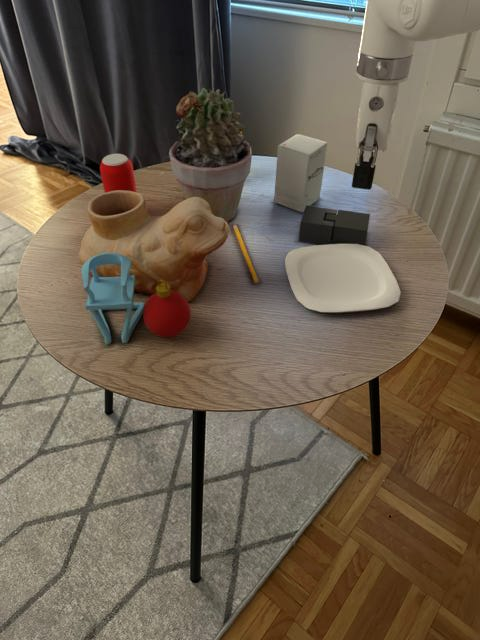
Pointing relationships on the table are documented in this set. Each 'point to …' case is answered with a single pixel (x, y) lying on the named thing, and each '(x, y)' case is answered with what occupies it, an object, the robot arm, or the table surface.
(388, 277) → the plate
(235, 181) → the potted plant
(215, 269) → the table surface
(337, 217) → the black rectangular block
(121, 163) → the beverage can
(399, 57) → the robot arm
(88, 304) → the chair
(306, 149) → the white packaging box
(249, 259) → the pencil
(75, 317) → the table surface
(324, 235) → the socket pad
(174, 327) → the christmas ornament
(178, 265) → the ceramic vessel
